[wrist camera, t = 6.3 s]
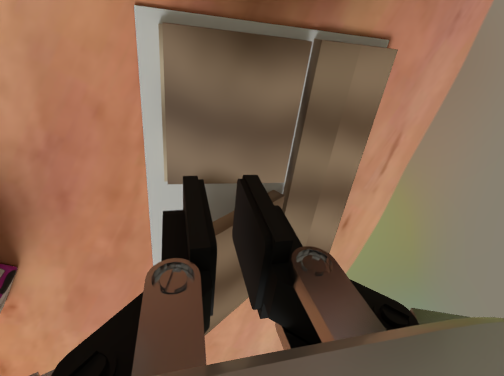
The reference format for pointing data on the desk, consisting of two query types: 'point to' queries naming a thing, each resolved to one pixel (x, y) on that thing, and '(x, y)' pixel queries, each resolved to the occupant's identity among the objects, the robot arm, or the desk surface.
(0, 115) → the desk surface
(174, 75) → the plank
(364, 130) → the laid strip
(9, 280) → the candy bar box
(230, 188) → the underlay
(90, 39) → the desk surface
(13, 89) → the desk surface
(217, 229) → the plank
